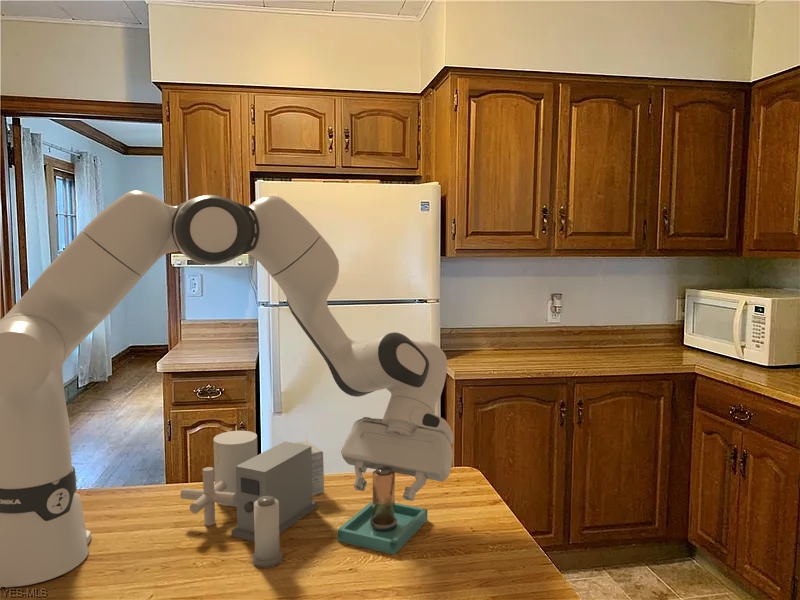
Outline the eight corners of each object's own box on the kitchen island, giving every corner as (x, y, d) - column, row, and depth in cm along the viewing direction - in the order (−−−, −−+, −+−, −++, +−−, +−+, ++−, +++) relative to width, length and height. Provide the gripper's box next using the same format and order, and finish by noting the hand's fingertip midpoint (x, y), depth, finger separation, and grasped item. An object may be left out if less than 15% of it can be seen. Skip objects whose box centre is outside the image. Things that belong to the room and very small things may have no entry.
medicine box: (324, 493, 126) (324, 451, 125) (303, 498, 124) (303, 455, 123) (308, 480, 133) (307, 440, 132) (288, 484, 131) (287, 443, 130)
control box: (231, 535, 109) (229, 467, 107) (286, 499, 123) (285, 439, 122) (265, 544, 106) (263, 474, 105) (317, 506, 120) (316, 444, 119)
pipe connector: (222, 539, 108) (220, 482, 106) (168, 533, 110) (166, 477, 108) (248, 513, 117) (247, 461, 116) (198, 508, 119) (196, 456, 118)
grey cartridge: (246, 564, 100) (244, 502, 99) (264, 550, 104) (263, 491, 103) (270, 571, 98) (269, 507, 97) (288, 557, 102) (287, 496, 101)
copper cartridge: (365, 528, 110) (365, 471, 109) (377, 517, 114) (377, 463, 113) (389, 534, 108) (389, 476, 107) (401, 522, 112) (401, 467, 111)
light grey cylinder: (226, 487, 129) (224, 429, 128) (264, 490, 128) (263, 431, 126) (207, 504, 121) (205, 442, 120) (248, 507, 120) (246, 445, 119)
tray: (337, 540, 107) (337, 529, 107) (374, 508, 119) (374, 498, 119) (394, 554, 103) (394, 542, 102) (427, 520, 115) (427, 509, 115)
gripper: (351, 407, 120) (324, 476, 112) (454, 421, 111) (432, 497, 103) (362, 424, 124) (337, 491, 116) (462, 439, 115) (442, 512, 108)
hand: (382, 494), depth 110 cm, fingers open, 8 cm apart
